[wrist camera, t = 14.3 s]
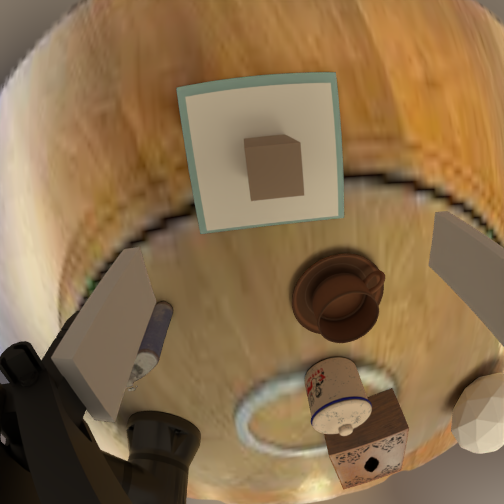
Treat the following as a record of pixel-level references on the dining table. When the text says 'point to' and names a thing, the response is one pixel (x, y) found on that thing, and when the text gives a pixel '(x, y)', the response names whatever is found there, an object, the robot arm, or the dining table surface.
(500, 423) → the ball
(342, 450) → the tissue box cover
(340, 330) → the cup and saucer
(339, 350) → the dining table surface
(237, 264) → the dining table surface
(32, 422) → the robot arm
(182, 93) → the mat
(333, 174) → the lid
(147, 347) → the flask
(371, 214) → the dining table surface
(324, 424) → the teacup with lid
